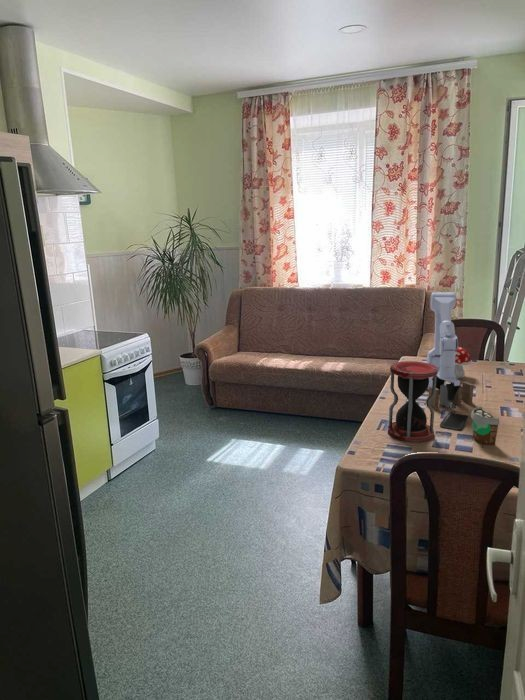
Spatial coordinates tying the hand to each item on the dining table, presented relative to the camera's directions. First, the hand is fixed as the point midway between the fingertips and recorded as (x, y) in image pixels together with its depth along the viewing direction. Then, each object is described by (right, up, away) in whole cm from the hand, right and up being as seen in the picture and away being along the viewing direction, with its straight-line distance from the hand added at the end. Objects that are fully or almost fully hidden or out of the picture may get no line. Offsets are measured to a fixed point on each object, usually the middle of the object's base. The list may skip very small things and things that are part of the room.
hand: (444, 397), depth 212 cm
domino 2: (0, -3, +1) cm, 3 cm away
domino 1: (-5, -4, -1) cm, 6 cm away
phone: (-3, -8, -17) cm, 19 cm away
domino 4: (+11, -2, +4) cm, 11 cm away
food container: (0, -12, -33) cm, 35 cm away
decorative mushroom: (+18, +6, +38) cm, 42 cm away
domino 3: (+5, -3, +2) cm, 6 cm away
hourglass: (-22, -11, -26) cm, 36 cm away
